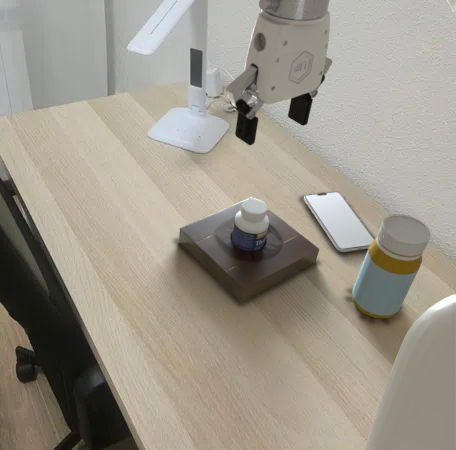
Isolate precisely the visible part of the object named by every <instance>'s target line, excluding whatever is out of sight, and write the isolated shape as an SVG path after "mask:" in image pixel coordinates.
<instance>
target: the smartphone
mask: <svg viewBox="0 0 456 450" xmlns="http://www.w3.org/2000/svg"><path fill="white" fill-rule="evenodd" d="M303 201H304V202H305V204H306V206H307V207H308V208H309V210H310V211H311V213H312V214H313V216H314V217H315V219H316V220H317V222H318V224H319V225H320V227H321V228H322V229H323V231H324V233H325V234H326V235H327V237H328V238H329V240H330V241H331V243H332V245H333V246H334V247H335V249H336V251H338V252H341V253H346V252H347V253H348V252H354V251H362V250H368V249H369V247H370V244H371V243H372V241H373V240H375V239H376V237H374V236H373V235H372V233H371V232H370V230H369V229H368V227H367V226H366V225H365V223H364V222H363V221H362V220H361V218H360V217H359V216H358V214H357V213H356V211H355V209H353V208H352V206H351V205H350V203H349V202H348V201H347V199H346V198H345V197H344V196H343V194H342V193H341V192H340V191H327V192H319V193H318V192H317V193H309V194H305V195H304V198H303Z"/></svg>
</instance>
